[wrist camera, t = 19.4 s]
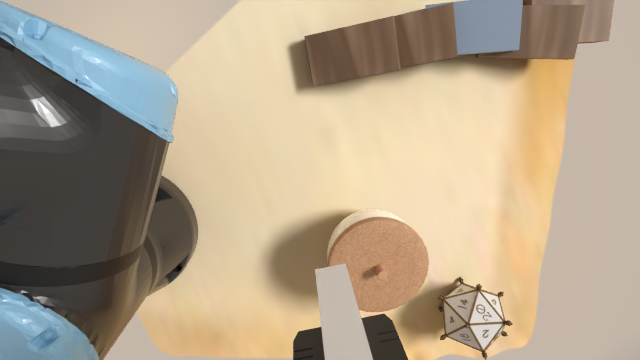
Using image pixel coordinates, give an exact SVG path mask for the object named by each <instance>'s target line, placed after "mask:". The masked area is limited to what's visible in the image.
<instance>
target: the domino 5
mask: <svg viewBox="0 0 640 360" xmlns="http://www.w3.org/2000/svg"><path fill="white" fill-rule="evenodd" d="M613 4H614V0H523V5H585V10H584V15H583V20H582V24H581V29H580V34H579V38H578V43H595V42H602V41H608V40H609V34H610V27H611V19H612V11H613ZM578 43H577V44H578Z"/></svg>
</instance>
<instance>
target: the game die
mask: <svg viewBox="0 0 640 360" xmlns="http://www.w3.org/2000/svg"><path fill="white" fill-rule="evenodd" d="M459 281H460V283H461V284H460V285H459V286H458V287H456V288H455V289H454V290H453V291H451V292H450V293H449V294H448V295H447V296H445V297H444V298H443V297H442V296H441V295H437V297H438V299H440V300H442V302H443V308H442V307H440V308H438V309H439V310H440V311H443V316H444V330H445V334H444V335H442V336H441V338H440V340H444V339H445V338H446V337H448V338H451V339H453V340H456V341H458V342H460V343H463V344H465V345H467V346H470V347H472V348H474V349H477V350H479V351H481V352H482V355H483V356H482V357H484V358H485V360H486V358H487V353H485V350H486V349H487V348H488V347H489V346H490V345H491V344H492V343H493V342H494V341H495V340H496V339H497V338H498V336H499V335H500V334H502V336H508V335H507V333H506V332H504V331H503V328H504V326H505V324H506V325H509V326H510V325H512V323H511V322H510V321H508V320H507V321H505V318H504V314H503V310H502V307H501V303H500V299H499V297H502V296H503V293H504V292H499V293H498V295H496V294H493V293H490V292H487V291H484V290H481V287H482V286H481V285H480V284H478V285H477V287H473V286H470V285H467V284H464V283H463V279H462V278H461V277H460V279H459Z"/></svg>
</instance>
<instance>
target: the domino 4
mask: <svg viewBox="0 0 640 360" xmlns="http://www.w3.org/2000/svg"><path fill="white" fill-rule="evenodd" d="M584 10H585V5H523V7H522V20H521V33H520V46H519V50H516V51H507V52H493V53H479V54H477V58H521V59H574V57H575V53H576V48H577V43H578V38H579V34H580V29H581V24H582V20H583V15H584Z"/></svg>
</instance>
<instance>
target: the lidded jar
mask: <svg viewBox="0 0 640 360" xmlns="http://www.w3.org/2000/svg"><path fill="white" fill-rule="evenodd" d="M345 263H346V266H347V270H348V273H349V277H350V280H351V284H352V287H353V291H354V294H355V298H356V301H357V305H358V308H359V310H362V311H366V312H383V311H387V310H391V309H394V308H397V307H399V306H401V305H403V304H404V303H406V302H407V301H409V300H410V299H411V298H412V297H413V296H414V295H415V294H416V293H417V292H418V291H419V289H420V288H421V286H422V284H423V283H424V281H425V278H426V276H427V271H428V264H429V260H428V253H427V249H426V246H425V244H424V242H423V240H422V239H421V238H420V236H419V235H418V234H417V233H416V232H415V231H414V230H413V229H412V228H411V227H410V226H409V225H408V224H407V223H406V222H405V221H403V220H402V219H400V218H399V217H397V216H396V215H394V214H392V213H390V212H387V211H384V210H379V209H366V210H361V211H358V212H355V213H353V214H351V215H349V216H347V217H346V218H345V219H343V220H342V221H341V222H340V223H339V224H338V225H337V227H336V228H335V229H334V231H333V233H332V235H331V238H330V241H329V244H328V250H327V267H330V266H335V265H340V264H345Z"/></svg>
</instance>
